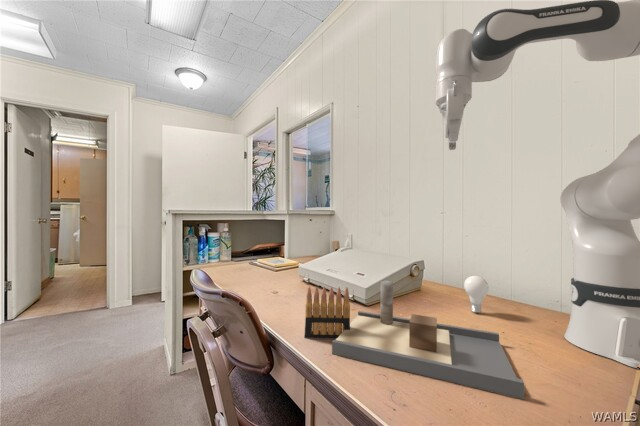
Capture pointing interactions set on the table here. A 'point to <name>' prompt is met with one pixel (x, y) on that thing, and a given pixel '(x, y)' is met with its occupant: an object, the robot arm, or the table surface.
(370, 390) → the table surface
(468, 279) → the lightbulb
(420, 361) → the rail base
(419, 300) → the table surface
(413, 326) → the walnut block
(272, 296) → the table surface
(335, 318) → the ammunition clip
